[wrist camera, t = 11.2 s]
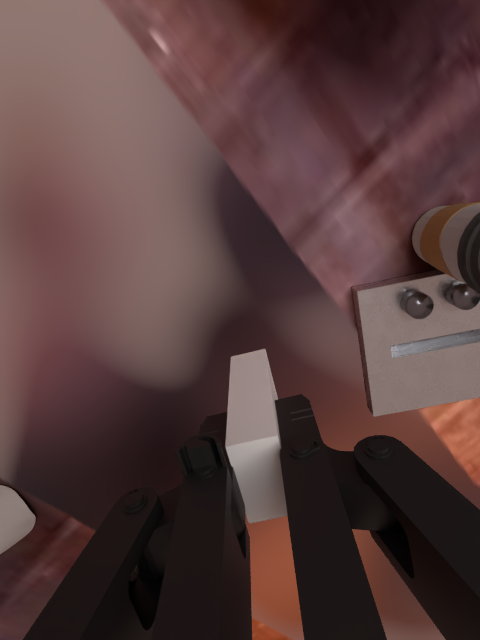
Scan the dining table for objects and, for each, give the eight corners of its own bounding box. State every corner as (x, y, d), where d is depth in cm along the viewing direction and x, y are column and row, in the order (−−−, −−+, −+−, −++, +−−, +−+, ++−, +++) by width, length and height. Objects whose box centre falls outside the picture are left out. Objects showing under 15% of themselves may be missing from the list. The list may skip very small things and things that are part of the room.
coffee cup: (487, 244, 48) (594, 266, 33) (422, 285, 49) (497, 323, 35) (455, 181, 46) (554, 175, 31) (387, 225, 47) (452, 239, 33)
